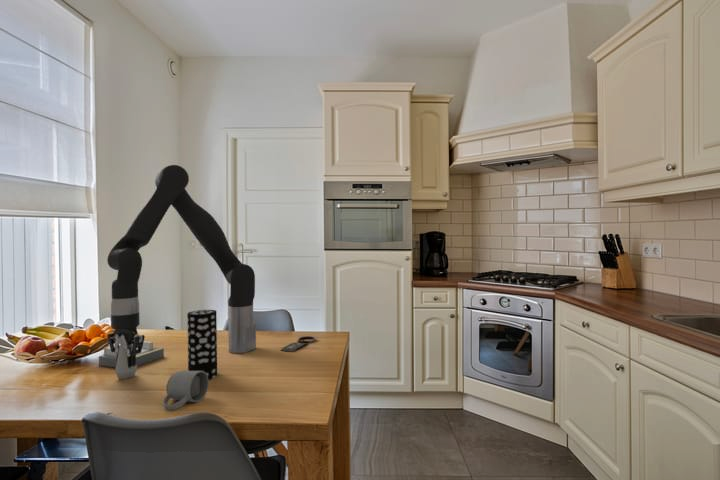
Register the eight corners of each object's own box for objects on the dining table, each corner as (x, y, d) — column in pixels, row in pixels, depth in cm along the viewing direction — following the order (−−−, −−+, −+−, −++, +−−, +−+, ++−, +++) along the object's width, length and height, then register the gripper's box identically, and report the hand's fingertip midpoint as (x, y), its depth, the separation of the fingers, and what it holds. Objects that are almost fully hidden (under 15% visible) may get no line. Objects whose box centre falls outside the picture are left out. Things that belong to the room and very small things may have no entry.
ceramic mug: (184, 392, 103) (183, 365, 103) (209, 394, 101) (208, 366, 101) (154, 410, 93) (153, 379, 93) (182, 413, 91) (181, 382, 91)
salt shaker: (141, 373, 119) (140, 333, 119) (128, 380, 113) (127, 337, 113) (124, 373, 119) (123, 332, 119) (110, 380, 113) (110, 337, 113)
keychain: (277, 351, 142) (277, 346, 142) (303, 339, 159) (303, 334, 159) (294, 353, 139) (294, 348, 139) (319, 340, 156) (319, 336, 156)
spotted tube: (223, 373, 118) (222, 310, 118) (204, 382, 110) (203, 315, 110) (202, 370, 121) (201, 309, 121) (182, 379, 113) (181, 314, 113)
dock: (163, 356, 136) (163, 341, 136) (127, 369, 123) (127, 352, 123) (136, 353, 141) (136, 338, 141) (99, 364, 128) (98, 349, 128)
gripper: (152, 310, 117) (153, 365, 117) (120, 308, 122) (121, 360, 122) (130, 315, 110) (131, 373, 110) (97, 312, 115) (98, 368, 115)
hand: (126, 366), depth 116 cm, fingers open, 4 cm apart
